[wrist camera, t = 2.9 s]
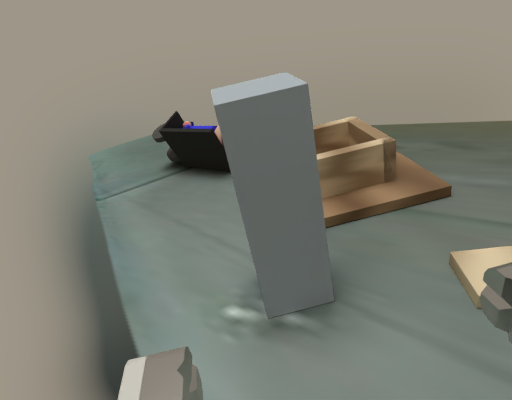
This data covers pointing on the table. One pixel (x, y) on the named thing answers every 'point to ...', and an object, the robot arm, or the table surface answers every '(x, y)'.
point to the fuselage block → (277, 188)
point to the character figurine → (193, 144)
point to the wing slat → (477, 267)
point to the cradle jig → (367, 173)
